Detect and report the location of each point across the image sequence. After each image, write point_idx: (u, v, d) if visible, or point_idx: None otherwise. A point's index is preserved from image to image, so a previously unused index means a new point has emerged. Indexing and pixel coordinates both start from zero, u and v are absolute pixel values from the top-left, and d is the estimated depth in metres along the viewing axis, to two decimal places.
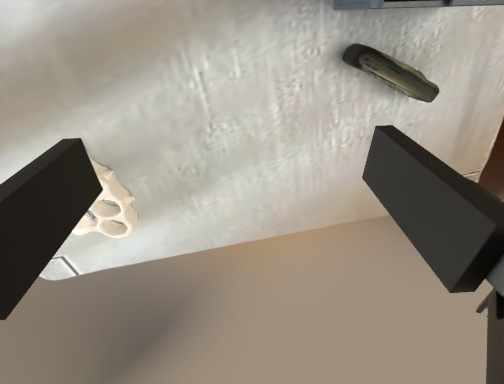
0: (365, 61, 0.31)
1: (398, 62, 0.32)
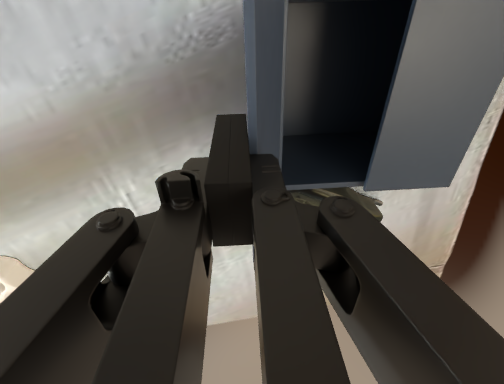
0: (296, 198, 0.29)
1: None
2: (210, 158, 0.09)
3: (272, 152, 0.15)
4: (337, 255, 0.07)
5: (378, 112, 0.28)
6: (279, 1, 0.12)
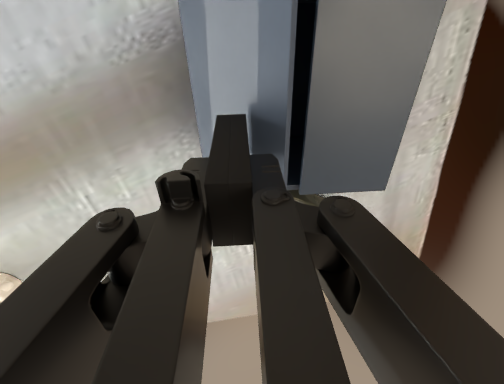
0: None
1: None
2: (210, 158, 0.09)
3: None
4: (337, 255, 0.07)
5: None
6: None
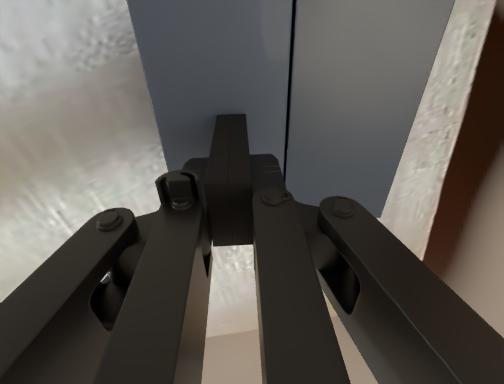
0: None
1: None
2: (210, 158, 0.09)
3: None
4: (337, 255, 0.07)
5: None
6: None
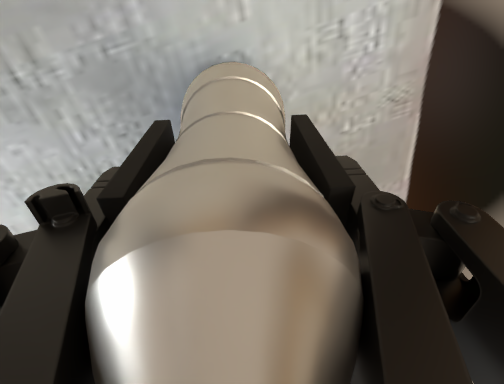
0: None
1: None
2: (120, 168, 0.09)
3: None
4: (448, 261, 0.07)
5: None
6: None
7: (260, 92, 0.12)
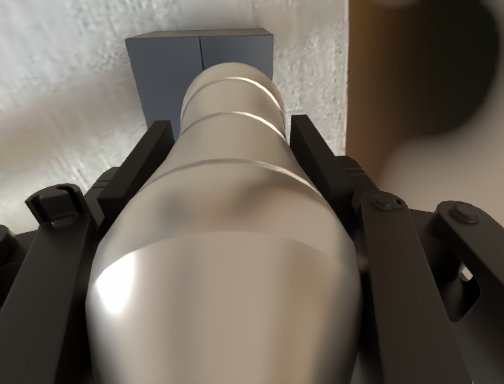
0: None
1: None
2: (120, 168, 0.09)
3: None
4: (448, 261, 0.07)
5: None
6: None
7: (260, 92, 0.12)
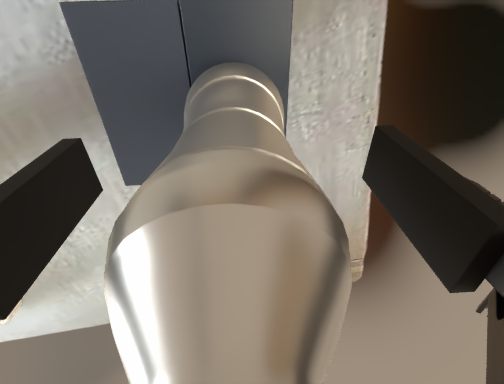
0: None
1: None
2: None
3: None
4: None
5: None
6: None
7: (260, 90, 0.13)
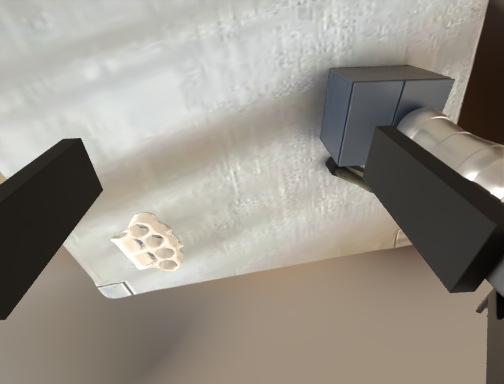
0: (339, 173, 0.51)
1: (359, 173, 0.51)
2: None
3: None
4: None
5: None
6: None
7: (453, 123, 0.33)
